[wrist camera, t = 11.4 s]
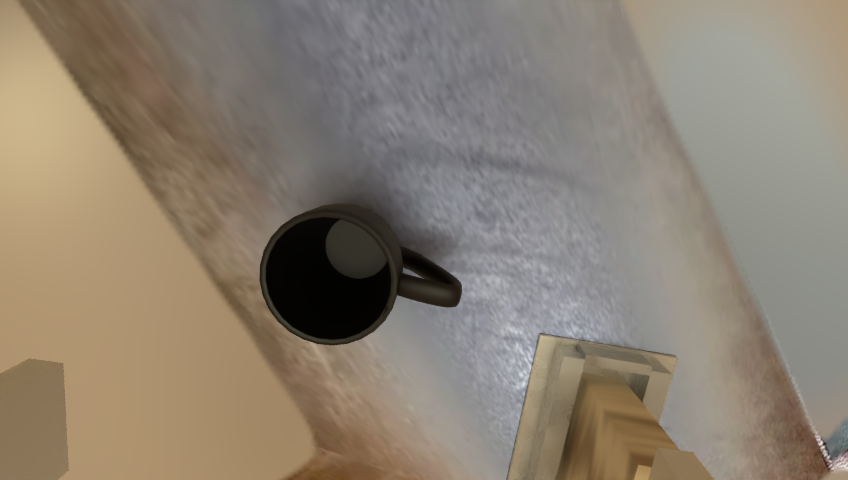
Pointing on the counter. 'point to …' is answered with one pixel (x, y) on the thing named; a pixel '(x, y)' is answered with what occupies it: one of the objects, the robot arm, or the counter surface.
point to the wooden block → (610, 433)
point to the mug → (344, 275)
